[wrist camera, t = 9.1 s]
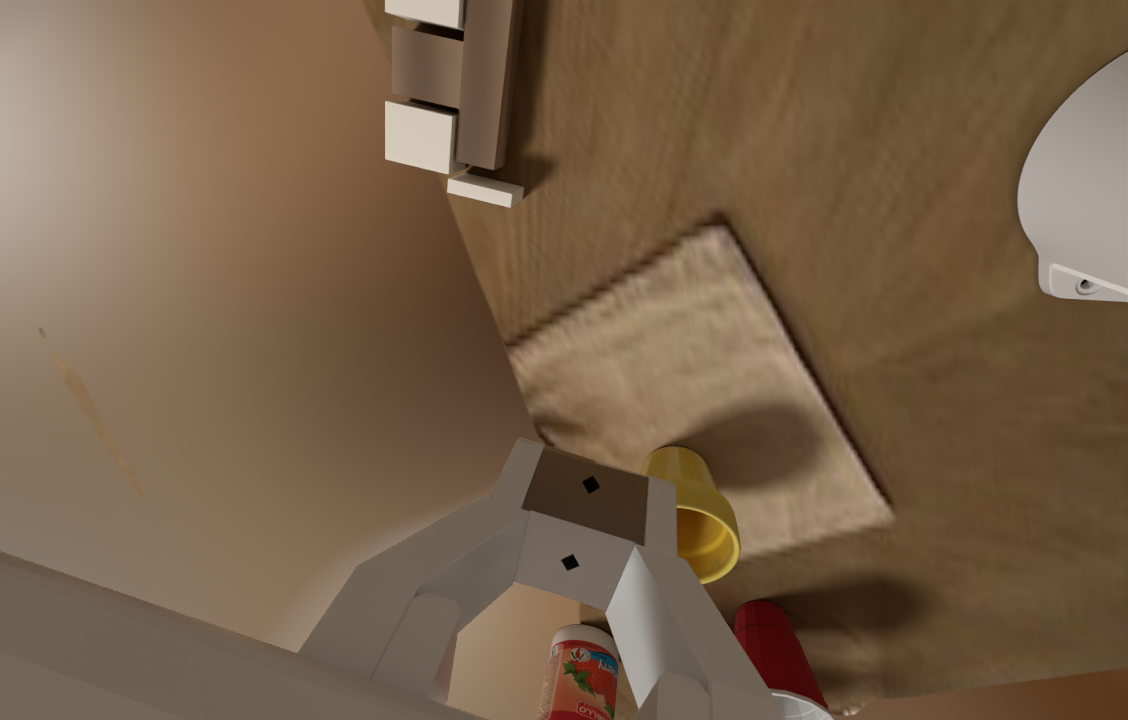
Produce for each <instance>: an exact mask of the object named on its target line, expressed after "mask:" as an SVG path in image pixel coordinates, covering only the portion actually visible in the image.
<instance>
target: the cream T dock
mask: <svg viewBox="0 0 1128 720" xmlns="http://www.w3.org/2000/svg"><path fill="white" fill-rule="evenodd" d="M385 12H387V13H390V14H393V15H396V16H399V17H402V18H405V19H408V20H411V21H416V22H420V23H425V24H429V25H434V26H438V27H443V28H447V29H452V30H456V31H461V32H464V28H465V14H466V0H385ZM458 115H459V113H456V112H452V111H448V110H443V109H439V108H435V107H431V106H426V105H422V104H418V103H413V102H409V101H386V102H385V157H386V158H385V159H387V160H391V161H395V162H399V163H403V164H407V165H411V166H416V167H420V168H424V169H428V170H432V171H436V172H440V173H445V174H451V173H454V172H458V171H461V170H464V169H466V163H461V162H457V161H455V159H456V144H457V130H458ZM447 192H448V193H452V194H456V195H460V196H465V197H469V198H473V199H477V200H481V201H485V202H489V203H493V204H497V205H501V206H505V207H510V208H511V207H512V206H514V205H515V204H517V203H518V202H520V201H521V200H522V199H523V192H524V187H522V186H518V185H514V184H510V183H506V182H501V181H497V180H493V179H489V178H485V177H481V176H477V175H472V174H468V173H463V174H460V175H457V176H454V177H451V178H449V179H448V190H447Z"/></svg>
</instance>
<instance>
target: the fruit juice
mask: <svg viewBox="0 0 1128 720" xmlns="http://www.w3.org/2000/svg"><path fill="white" fill-rule="evenodd" d="M618 663H619V651H618V648H617V645H616V642H615V640H614V639H613V638H612V637H611V636H610V635H609V634H607V633H606V632H604V631H603V630H601V629H598V628H596V627H593V626H589V625H583V624H574V625H568V626H565V627H563V628H561V629H559V631H558V632H557V633H556V634H555V636H554V639H553V642H552V646H551V651H550V655H549V660H548V665H547V670H546V675H545V680H544V685H543V690H542V694H541V699H540V704H539V709H538V714H537V719H536V720H614V714H615V701H616V689H617V676H618Z"/></svg>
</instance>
